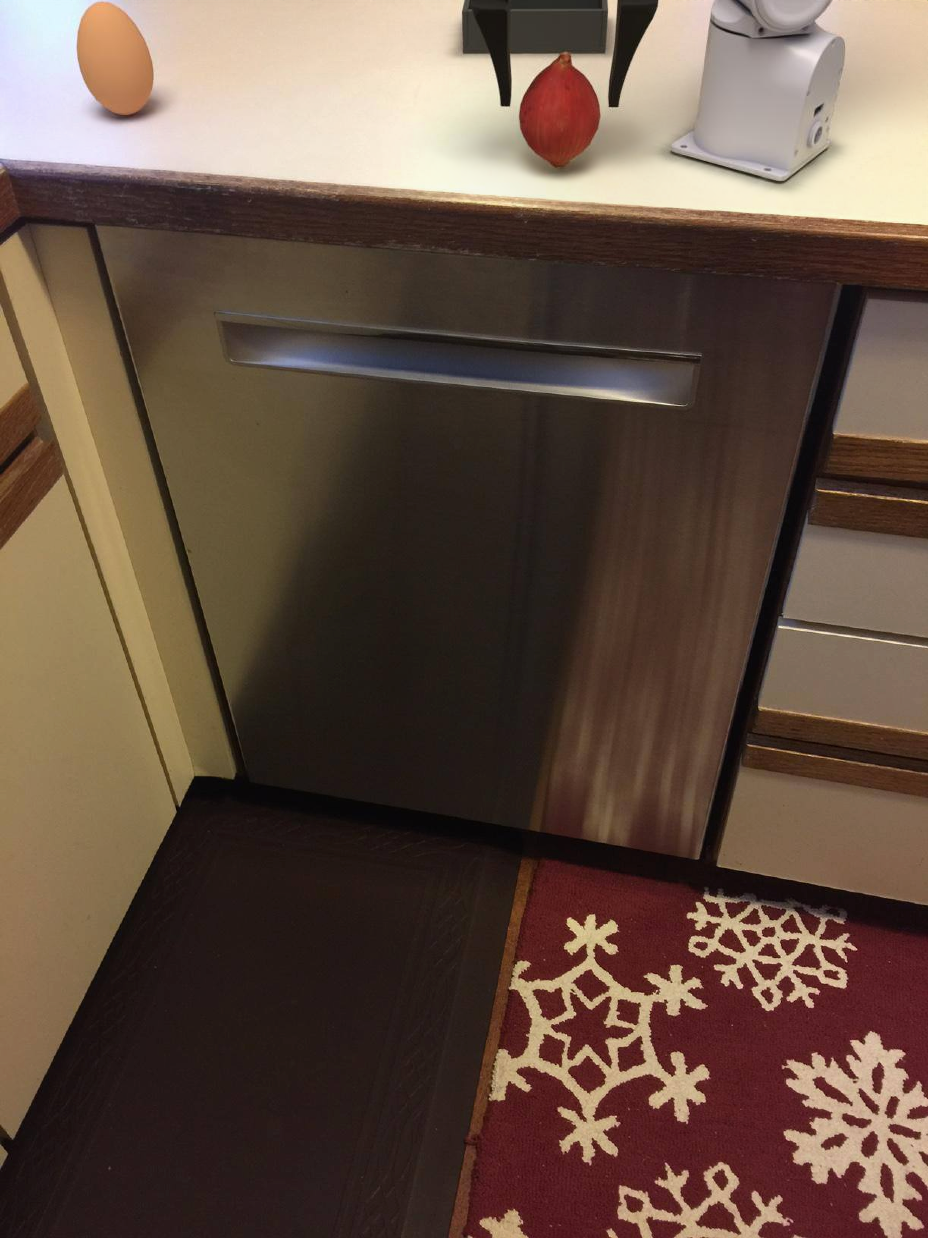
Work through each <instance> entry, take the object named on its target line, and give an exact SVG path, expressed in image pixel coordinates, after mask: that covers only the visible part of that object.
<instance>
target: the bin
mask: <svg viewBox="0 0 928 1238" xmlns="http://www.w3.org/2000/svg"><path fill="white" fill-rule="evenodd" d="M471 1H472V0H464V1H463V4H462V9H461V31H462V33H461V34H462V54H490V53H489V50H488V48H487V45H486V42H485V40H484V38H483V35H482V33H481V30H480V28H479V26H478V24H477V22H476V20H475V18H474V15H473V12H472V8H471ZM608 1H609V0H510V54H560V53H563V52H568V53H569V52H570V54H606V50H607V49H606V48H607V47H606V46H607V35H608V19H609V2H608Z"/></svg>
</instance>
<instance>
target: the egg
mask: <svg viewBox="0 0 928 1238" xmlns="http://www.w3.org/2000/svg"><path fill="white" fill-rule="evenodd" d="M76 57H77V63H78V67H79V71H80V74H81V77H82V80H83V82H84V84H85V86H86V88H87V89H88V92H90V94H91V95H92V97H94V99H95V100H96V102H98V103H99V104H100V105H101V106H103V107H104V108H105V109H107V110H108V111H110V112H112V113H114V114H116V115H120V116H131V115H134V114H136V113H138V112H140V111H141V110H142V109H143V108H144V106H145V105H146V104H147V102H148V101H149V98H150V96H151V93H152V90H153V87H154V79H155V78H154V77H155V76H154V65H153V60H152V56H151V53H150V49H149V47H148V45H147V42H146V39H145V37H144V36H143V34H142V33H141V31H140V29H139V28H138V25H137V24H136V23H135V22H134V20H133V19H132V18H131V16H129V15H128V13H127V12H126V11H124V10H123V9H122V8H121V7H120V6H117V5H116V4H114V3H111V2H108V1H103V0H102V1H97V2H94V3H92V4H91V5H90V6H88V7H87V8H86V10H85V11H84V12H83V14H82V16H81V18H80V22H79V25H78V29H77V37H76Z"/></svg>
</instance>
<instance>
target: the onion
mask: <svg viewBox="0 0 928 1238" xmlns="http://www.w3.org/2000/svg"><path fill="white" fill-rule="evenodd" d="M520 101H521V102H520V105H519V111H518V122H519V130H520V132H521V135H522V137H523V140H524V141H525V142H526V144H527V146H528V147H529V149H530V150H532V152H533V153H534V154H536V155H537V156H538V157H540V158H541V159H543V160H544V161H545V162H547V163H548V164H549V165H551V166H552V167H553V168H556V169H562V168H564V167H566V165H568V164H570V162H571V161H573V159H576V157H578V156H579V155H581V154H582V153H583V152H584V151H585V150H586V149H587V148H589V146H590V145H591V142H593V140H594V137H595V136H596V133H597V132H598V130H599V127H600V121H601V106H600V102H599V98H598V95H597V92H596V91H595V88H594V86H593V85H592V83H591V81H590V80H589V79H588V78H587V76H586V75H585V74H584V73H582V72H581V71H580V70H579V69H577V68H576V67H575V66H574V64H573V60H572V55H571V53H570V52H569V53H568V52H563V53H559V55H558V57H557V58H554V59H553V61H552V62H551V63H550V64H549V65H547V66H546V67H545V68H543V69H542V70H541V71H540V72H539V73H538V74H537V75H535V77H534V79H532V81H531V82H530V84H529V86H528V87H527V89H526V91H525V92H524V94H523V95H522V99H521V100H520Z"/></svg>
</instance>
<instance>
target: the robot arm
mask: <svg viewBox="0 0 928 1238" xmlns="http://www.w3.org/2000/svg"><path fill="white" fill-rule="evenodd" d="M832 2H833V0H714V1H713V3H712V5H711V8H710V15H709V16H710V17H709V23H708V31H707V37H706V45H705V53H704V59H703V60H704V61H703V68H702V75H701V82H700V89H699V97H698V98H699V99H698V104H697V105H698V106H697V113H696V118H695V125H694V126H695V127H694V129H692V130H691V131H690V132H688V133H686V134H685V135H683V136H682V137H681V138H679V139H677V140H676V141H674V142H673V143H671V145H670V151H671V152H673V153H675V154H679V155H682V156H686V157H690V158H693V159H697V160H699V161H704V162H708V163H711V164H714V165H715V164H716V165H719V166H723V167H726V168H729V169H733V170H736V171H740V172H744V173H747V174H750V175H755V176H758V177H762V178H765V179H768V180H772V181H776V182H784V181H786V180H788V179H789V178H790V177H792V175H794V174H795V173H797V171H799V170H800V169H801V168H803V167H804V166H806V164H808V163H809V162H810V161H812V160H813V159H815V158H816V157H817V156H818V155H820V153H822V152H823V151H825V150H826V149H827V148H828V147H829V146H830V142H831V141H830V139H829V138H828V137H829V131H830V127H831V123H832V118H833V116H834V115H833V114H834V110H835V105H836V101H837V96H838V93H839V88H840V85H841V84H840V83H841V79H842V75H843V70H844V66H845V58H846V44H845V43H846V42H845V39H844V38H843V37H842V36H840V35H839V34H836V33H833V32H830V31H828V30H826V29H824V28H823V27H821V26H819V25H818V23H817V22H816V20H817V19H819V18H820V16H822V14H823V13H824V12H826V10H827V9H828V8H829V6H830V5H831V4H832ZM471 8H472V12H473V15H474V18H475V20H476V22H477V24H478V26H479V28H480V30H481V33H482V35H483V38H484V40H485V42H486V45H487V48H488V50H489V53H488V54H489V56H490V60H491V63H492V66H493V69H494V73H495V76H496V78H495V79H496V82H497V87H498V94H499V103H500V104H499V105H500V106H499V107H502V108H511V104H512V88H513V86H512V85H513V84H512V82H513V78H512V62H511V53H510V0H472V1H471ZM658 8H659V0H617V1H616V17H615V31H614V45H613V50H612V51H613V52H612V58H611V64H610V65H611V66H610V73H609V78H608V91H607V102H608V108H612V109H613V108H620V107H619V106H620V99H621V96H622V95H621V94H622V91H623V87H624V84H625V81H626V78H627V74H628V72H629V68H630V66H631V64H632V61H633V59H634V56H635V54H636V52H637V50H638V48H639V45H640V43H641V41H642V39H643V37H644V36H645V34H646V32H647V30H648V28H649V27H650V25H651V23H652V21H653V19H654V18H655V15H656V13H657V10H658Z"/></svg>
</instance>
